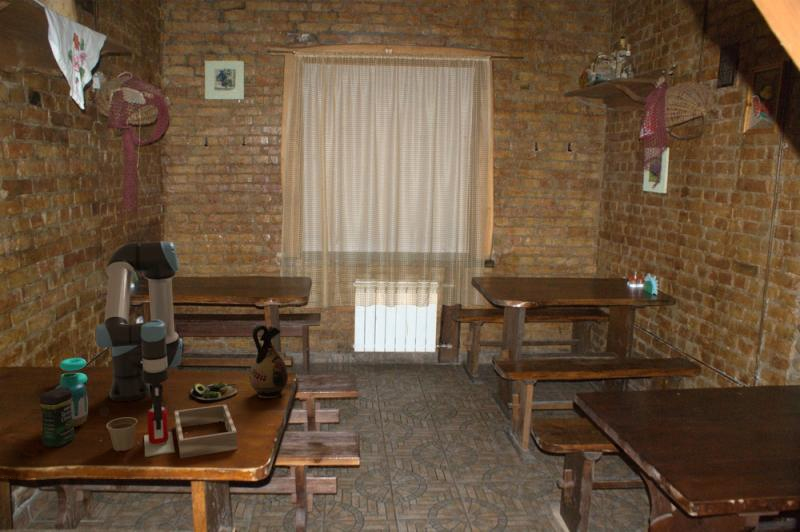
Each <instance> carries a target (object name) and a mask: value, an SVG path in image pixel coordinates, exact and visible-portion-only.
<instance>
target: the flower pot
mask: <svg viewBox="0 0 800 532" xmlns="http://www.w3.org/2000/svg"><path fill="white" fill-rule="evenodd" d="M137 424H138V419H136V418H134V417H127V416H125V417H119V418H115V419H112V420H110V421H109V422H107V423H106V426H105V427H106V429H107V431H108V432H109V435H110V439H111V443H112V447H113V448H112V449H113V450H114V451H116V452H120V451H122V452H123V451H128V450H130V449H132V448H133V447H134V445H135V433H136V428H137Z"/></svg>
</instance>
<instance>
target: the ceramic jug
mask: <svg viewBox="0 0 800 532" xmlns="http://www.w3.org/2000/svg"><path fill="white" fill-rule="evenodd" d="M261 331H263V333H262V334H261V337H260V339H259V337H258V333H259V332H261ZM279 334H281V330H279V328H277V327H275V326H273V327H272V326H269V328H268V327H267V326H266V325H263V324H257V325H255V327H254V328H253V329H252V339H253V342H254V345H255V347H256V350H257V354H256V356H255V358H254V359H253V362H252V364H251V366H250V370H249V382H250V386H251V388H253V390H254V391H255V392H256V394H257V395H258V398H262V399H275V398H279V397H282V391H284V389H285V388H286V385H287V383H288V380H289V372H288V369H287V365H286V363H285V361H284V358H282V356H281V354H280V353H279V352H278V351H277V350H276V348H275V347H274V346H273V342H272V339H274V338H275V337H276V336H278V335H279ZM260 341H262V345H261V343H260Z"/></svg>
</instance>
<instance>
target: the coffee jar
mask: <svg viewBox="0 0 800 532" xmlns="http://www.w3.org/2000/svg"><path fill="white" fill-rule="evenodd" d="M71 393H72V392H71V390H70V388H66V387H59V388H56V387H55V388H54V389H52V390H50V391H47V392H45V393H43V394H41V395H40V397H39V406H40V408H41V413H42V431H41V432H42V434H41V441H42V442H41V444H42V446H45V447H48V448H54V447H55V448H57V447H59V448H60V447H62V446H64V445H66V444H68V443H70V442H71V441H73V440H74V439H75V437H76V435H75V427H74V426H73V420H72V413H71V402H72V394H71Z"/></svg>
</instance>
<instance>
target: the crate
mask: <svg viewBox="0 0 800 532" xmlns="http://www.w3.org/2000/svg"><path fill="white" fill-rule="evenodd" d="M219 421H221V422H223V423H225V424H224V426H225V429H226V431H227V432H220V433H219V432H218V433H213V434H205V435H199V436H193V437H186V438H184V435H183V428H185V427H192V426H200V425H206V424H213V422H214V423H220V422H219ZM199 424H200V425H199ZM174 425H175V426H174V427H175V433H176V438H177V439H176V440H177V446H178V451H179V457H180V459H184V458H190V457H196V456H204V455H209V454H216V453H222V452H227V451H229V452H230V451H235V450H238V431H237V429H236V427H235V424H234V421H233V419H232V416H231V413H230V411H229V408H228V406H227V404H225V403H224V404H218V405H217V404H215V405H210V406H203V407H201V406H200V407H196V408H194V407H193V408H187V409H180V410H174Z"/></svg>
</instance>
